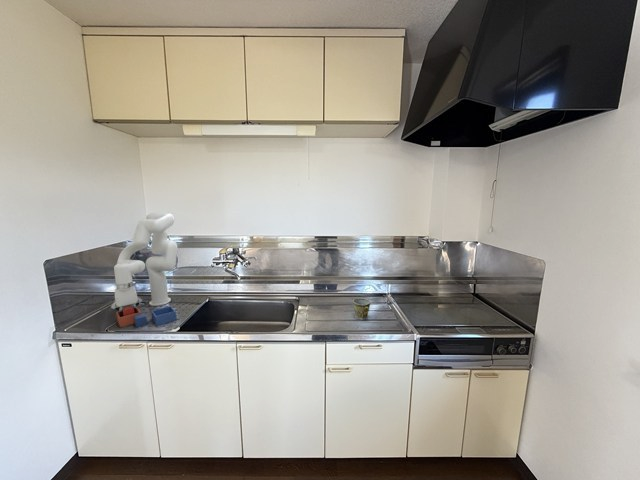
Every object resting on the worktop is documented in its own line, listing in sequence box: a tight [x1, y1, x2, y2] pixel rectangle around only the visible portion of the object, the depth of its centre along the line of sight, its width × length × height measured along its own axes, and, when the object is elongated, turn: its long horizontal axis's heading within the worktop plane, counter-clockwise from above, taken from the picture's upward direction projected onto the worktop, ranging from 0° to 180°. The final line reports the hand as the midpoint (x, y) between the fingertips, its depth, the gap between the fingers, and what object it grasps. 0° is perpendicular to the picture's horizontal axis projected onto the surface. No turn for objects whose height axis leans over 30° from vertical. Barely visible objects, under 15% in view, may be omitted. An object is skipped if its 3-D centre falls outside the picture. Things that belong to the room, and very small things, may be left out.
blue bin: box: [150, 305, 177, 327], centre depth 157 cm, size 10×10×6 cm
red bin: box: [115, 307, 142, 328], centre depth 155 cm, size 10×10×6 cm
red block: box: [122, 305, 134, 316], centre depth 154 cm, size 5×5×5 cm
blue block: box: [134, 313, 148, 328], centre depth 151 cm, size 5×5×5 cm
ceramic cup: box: [352, 297, 371, 321], centre depth 158 cm, size 13×10×10 cm
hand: (128, 315), depth 155 cm, fingers closed on red block, 5 cm apart
